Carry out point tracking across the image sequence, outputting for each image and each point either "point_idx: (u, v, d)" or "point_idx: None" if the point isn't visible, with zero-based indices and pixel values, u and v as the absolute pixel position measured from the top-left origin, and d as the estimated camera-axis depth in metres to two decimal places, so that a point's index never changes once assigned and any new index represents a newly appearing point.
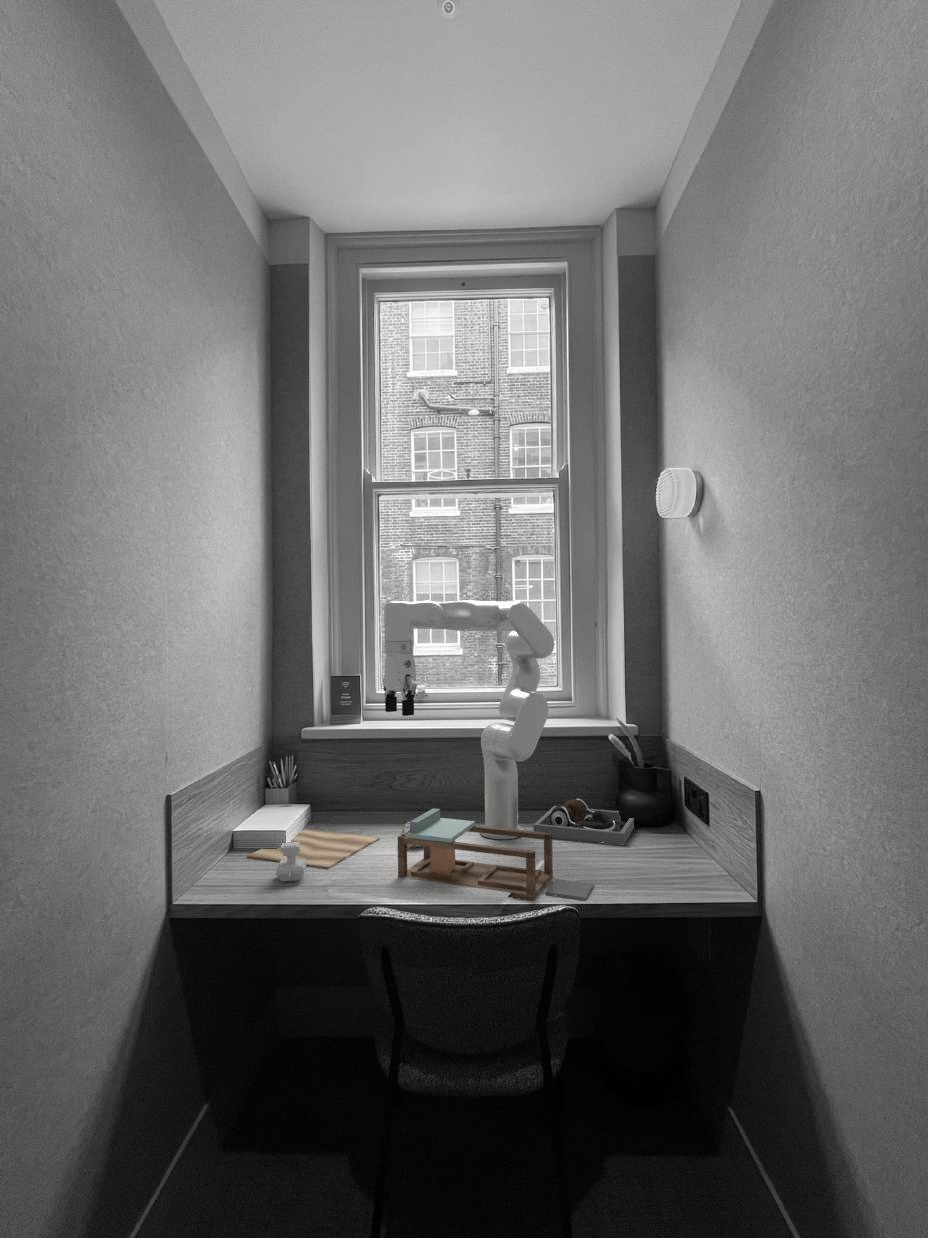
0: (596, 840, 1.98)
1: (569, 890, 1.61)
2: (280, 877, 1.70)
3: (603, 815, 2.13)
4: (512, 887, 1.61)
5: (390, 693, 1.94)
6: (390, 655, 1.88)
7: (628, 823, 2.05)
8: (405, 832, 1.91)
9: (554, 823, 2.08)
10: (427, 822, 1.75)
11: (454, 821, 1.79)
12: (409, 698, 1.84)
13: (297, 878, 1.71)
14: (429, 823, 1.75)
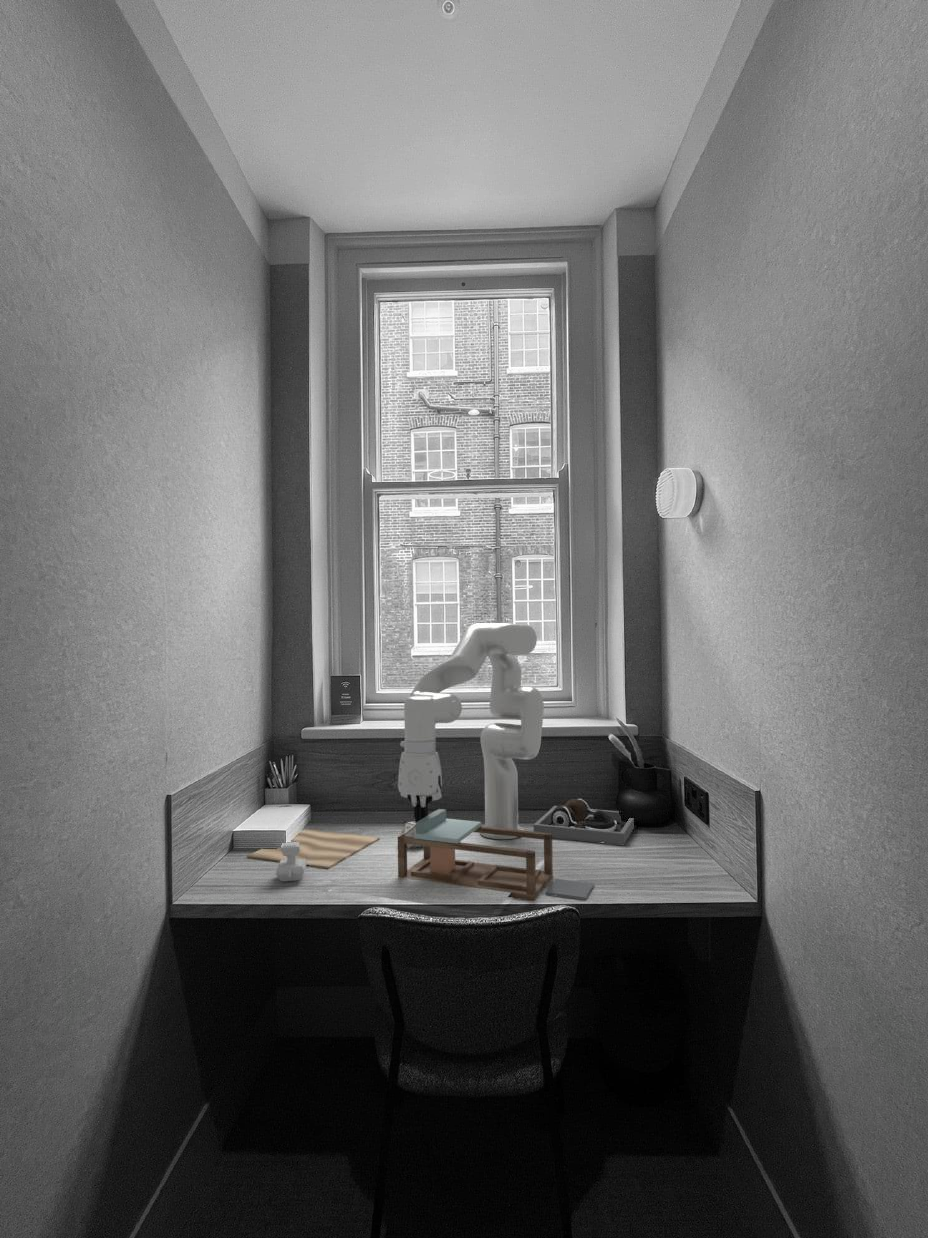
0: (596, 840, 1.98)
1: (569, 890, 1.61)
2: (280, 877, 1.70)
3: (604, 815, 2.13)
4: (512, 887, 1.61)
5: None
6: None
7: (628, 823, 2.05)
8: (405, 832, 1.91)
9: (555, 823, 2.08)
10: (433, 822, 1.74)
11: (460, 822, 1.78)
12: None
13: (297, 878, 1.71)
14: (435, 824, 1.75)
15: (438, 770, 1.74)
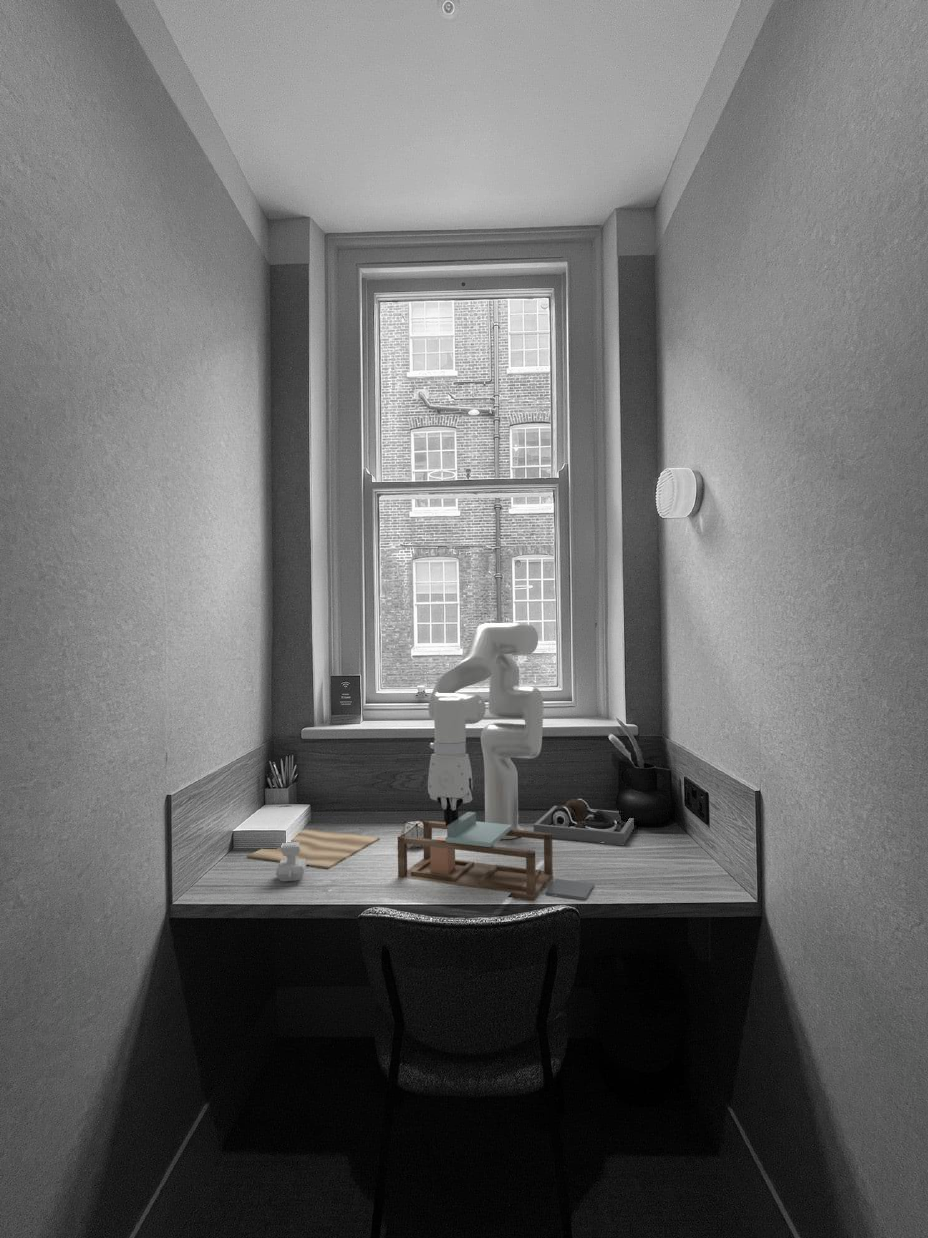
0: (596, 840, 1.98)
1: (569, 890, 1.61)
2: (280, 877, 1.70)
3: (604, 815, 2.13)
4: (512, 887, 1.61)
5: None
6: None
7: (628, 823, 2.05)
8: (405, 832, 1.91)
9: (556, 823, 2.08)
10: (464, 826, 1.71)
11: (490, 825, 1.75)
12: None
13: (297, 878, 1.71)
14: (465, 827, 1.72)
15: (469, 772, 1.71)
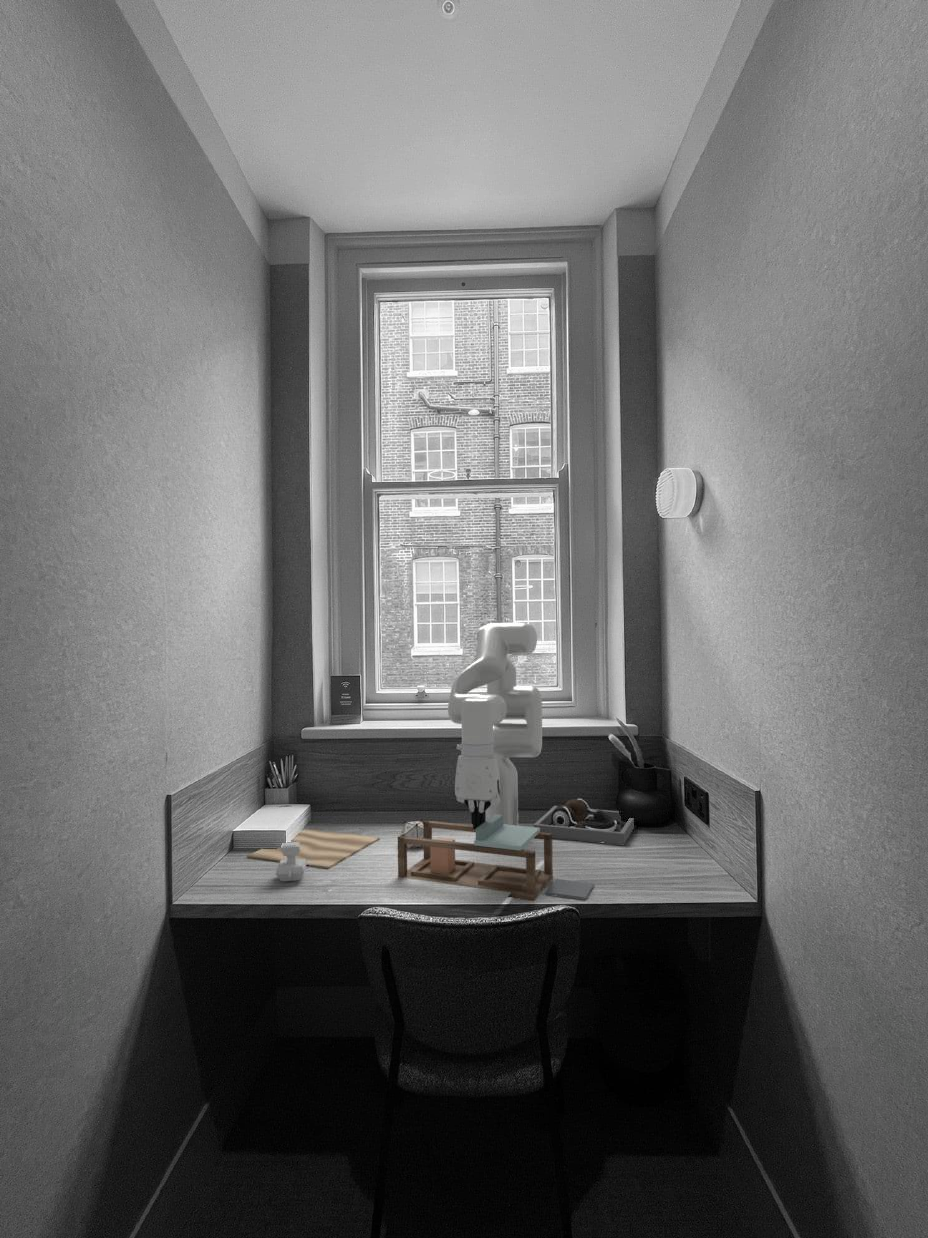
0: (596, 840, 1.98)
1: (569, 890, 1.61)
2: (280, 877, 1.70)
3: (604, 815, 2.14)
4: (512, 887, 1.61)
5: None
6: None
7: (628, 823, 2.05)
8: (405, 832, 1.91)
9: (556, 823, 2.08)
10: (492, 829, 1.68)
11: (518, 828, 1.73)
12: None
13: (297, 878, 1.71)
14: (493, 830, 1.69)
15: (497, 774, 1.69)
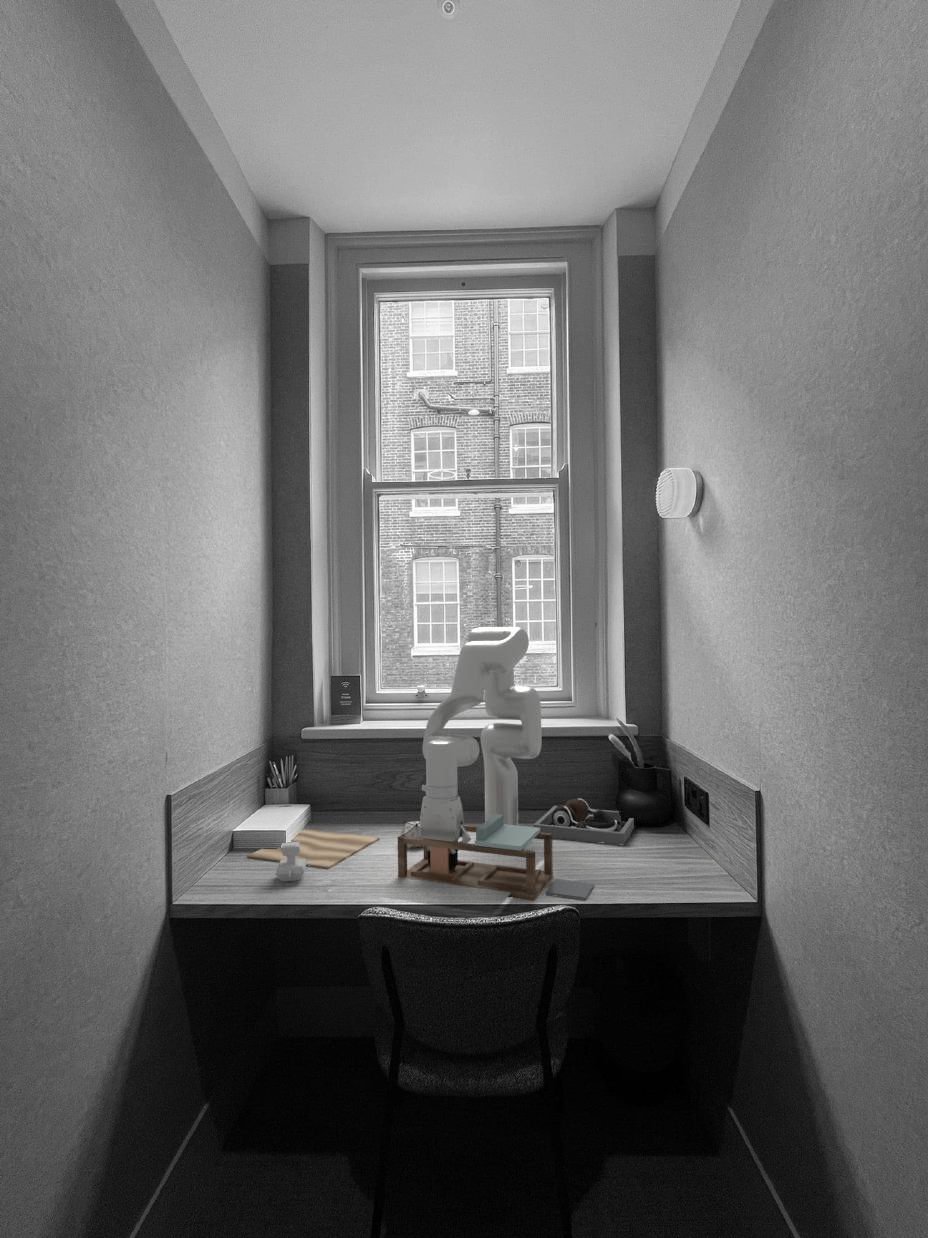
0: (596, 840, 1.98)
1: (569, 890, 1.61)
2: (280, 877, 1.70)
3: (605, 814, 2.14)
4: (512, 887, 1.61)
5: None
6: None
7: (628, 823, 2.05)
8: (405, 832, 1.91)
9: (556, 823, 2.09)
10: (493, 829, 1.68)
11: (518, 828, 1.73)
12: None
13: (297, 878, 1.71)
14: (494, 830, 1.69)
15: (460, 815, 1.72)
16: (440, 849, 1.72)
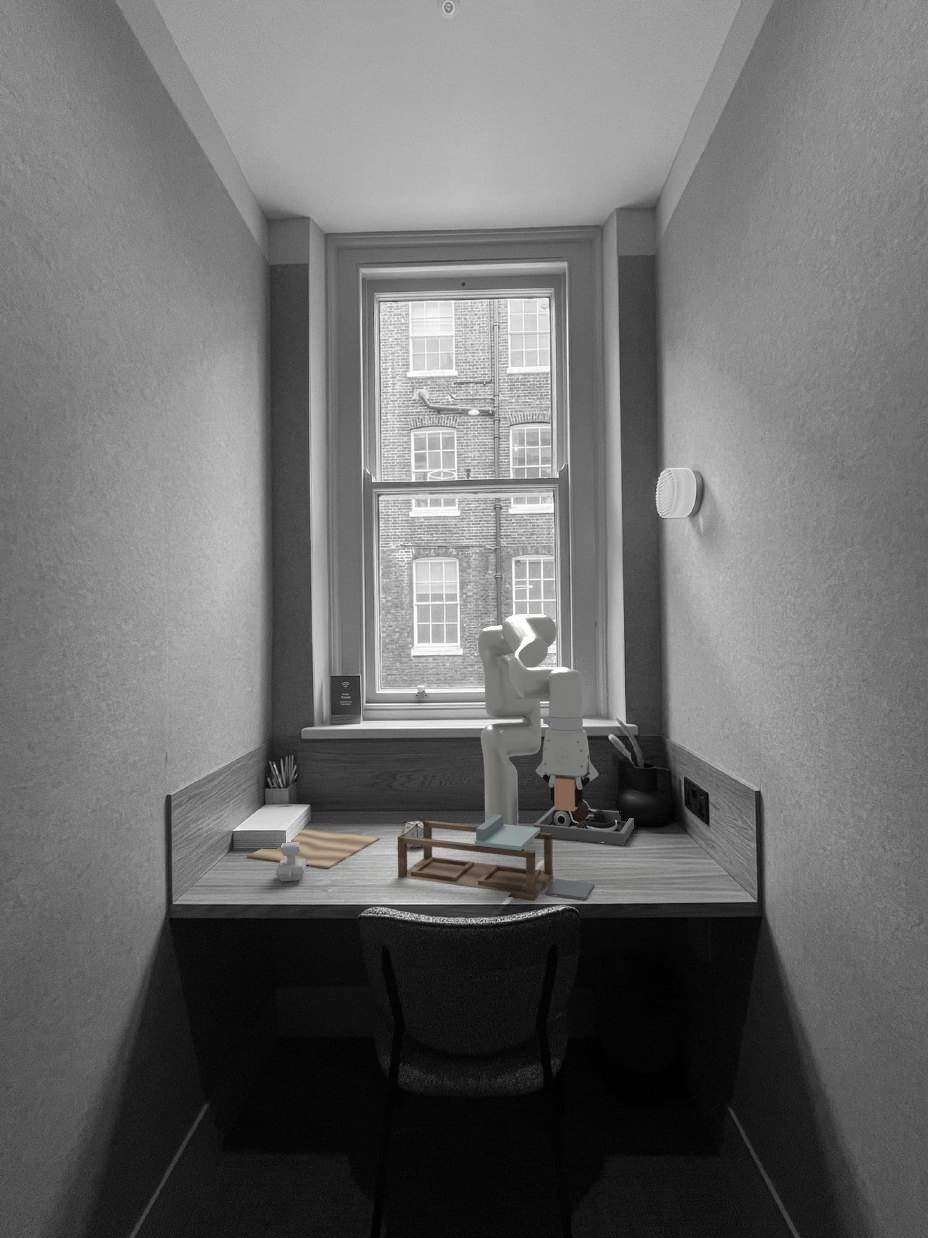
0: (596, 840, 1.98)
1: (569, 890, 1.61)
2: (280, 877, 1.70)
3: (605, 814, 2.14)
4: (512, 887, 1.61)
5: None
6: None
7: (628, 823, 2.05)
8: (405, 832, 1.91)
9: (557, 822, 2.09)
10: (493, 829, 1.68)
11: (518, 828, 1.73)
12: None
13: (297, 878, 1.71)
14: (494, 830, 1.69)
15: (587, 749, 1.61)
16: (565, 785, 1.61)
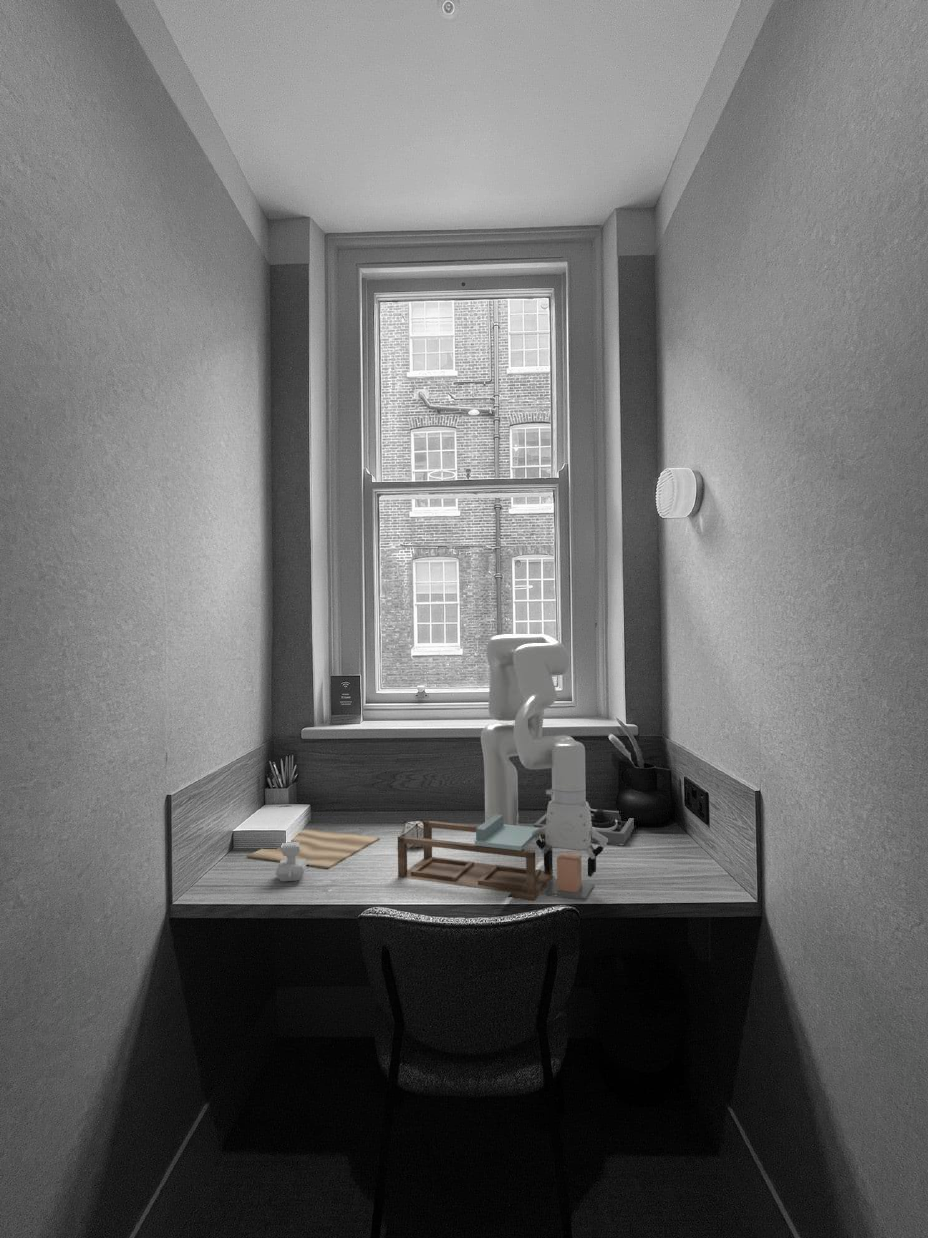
0: (596, 840, 1.98)
1: None
2: (280, 877, 1.70)
3: (605, 814, 2.14)
4: (512, 887, 1.61)
5: None
6: None
7: (628, 823, 2.05)
8: (405, 832, 1.91)
9: None
10: (493, 829, 1.68)
11: (518, 828, 1.73)
12: None
13: (297, 878, 1.71)
14: (494, 830, 1.69)
15: (590, 822, 1.61)
16: (568, 865, 1.61)
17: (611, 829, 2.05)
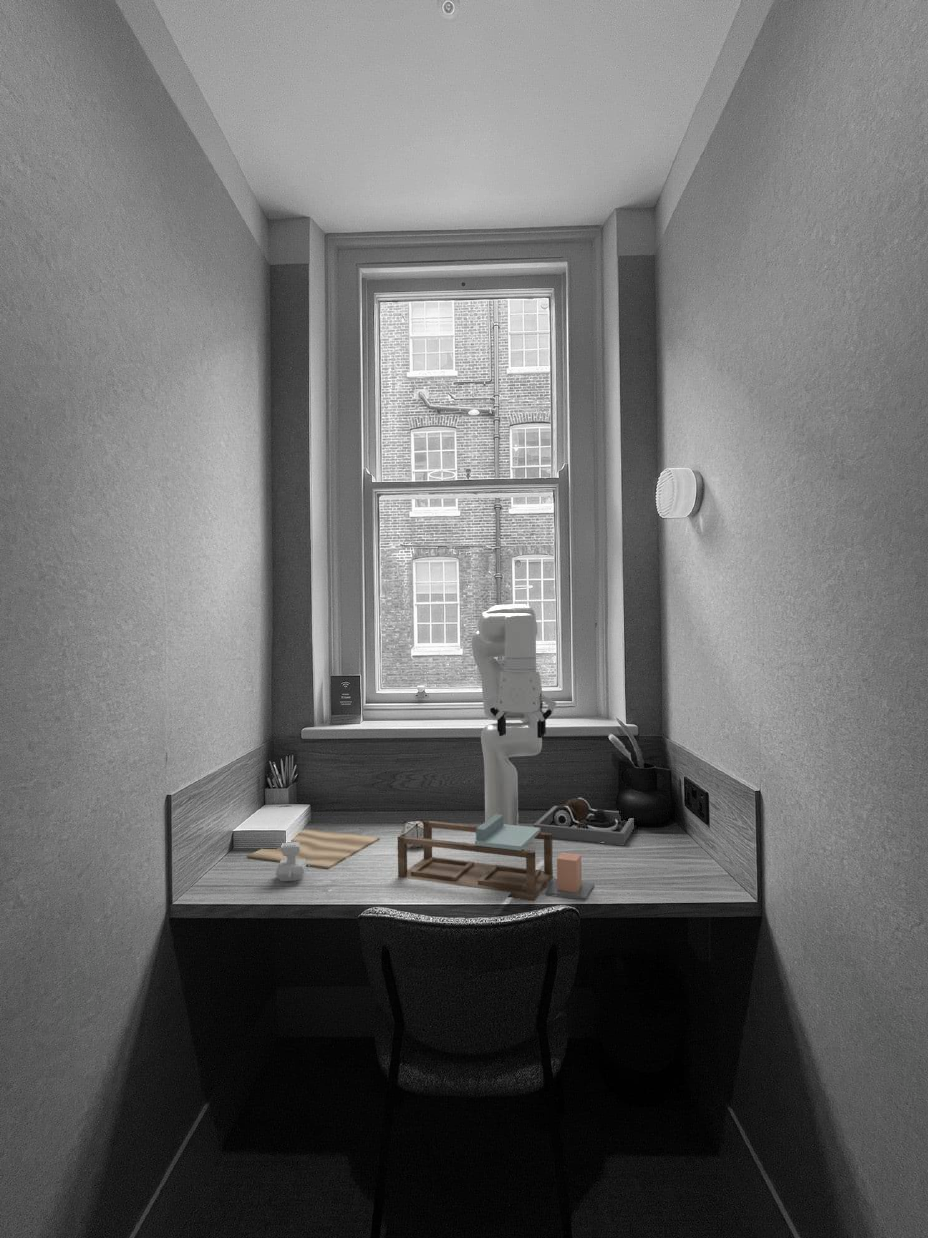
0: (596, 840, 1.98)
1: None
2: (280, 877, 1.70)
3: (605, 814, 2.15)
4: (512, 887, 1.61)
5: None
6: None
7: (628, 823, 2.05)
8: (405, 832, 1.91)
9: (557, 822, 2.09)
10: (493, 829, 1.68)
11: (518, 828, 1.73)
12: None
13: (297, 878, 1.71)
14: (494, 830, 1.69)
15: (540, 687, 1.72)
16: (568, 865, 1.61)
17: (611, 829, 2.05)
